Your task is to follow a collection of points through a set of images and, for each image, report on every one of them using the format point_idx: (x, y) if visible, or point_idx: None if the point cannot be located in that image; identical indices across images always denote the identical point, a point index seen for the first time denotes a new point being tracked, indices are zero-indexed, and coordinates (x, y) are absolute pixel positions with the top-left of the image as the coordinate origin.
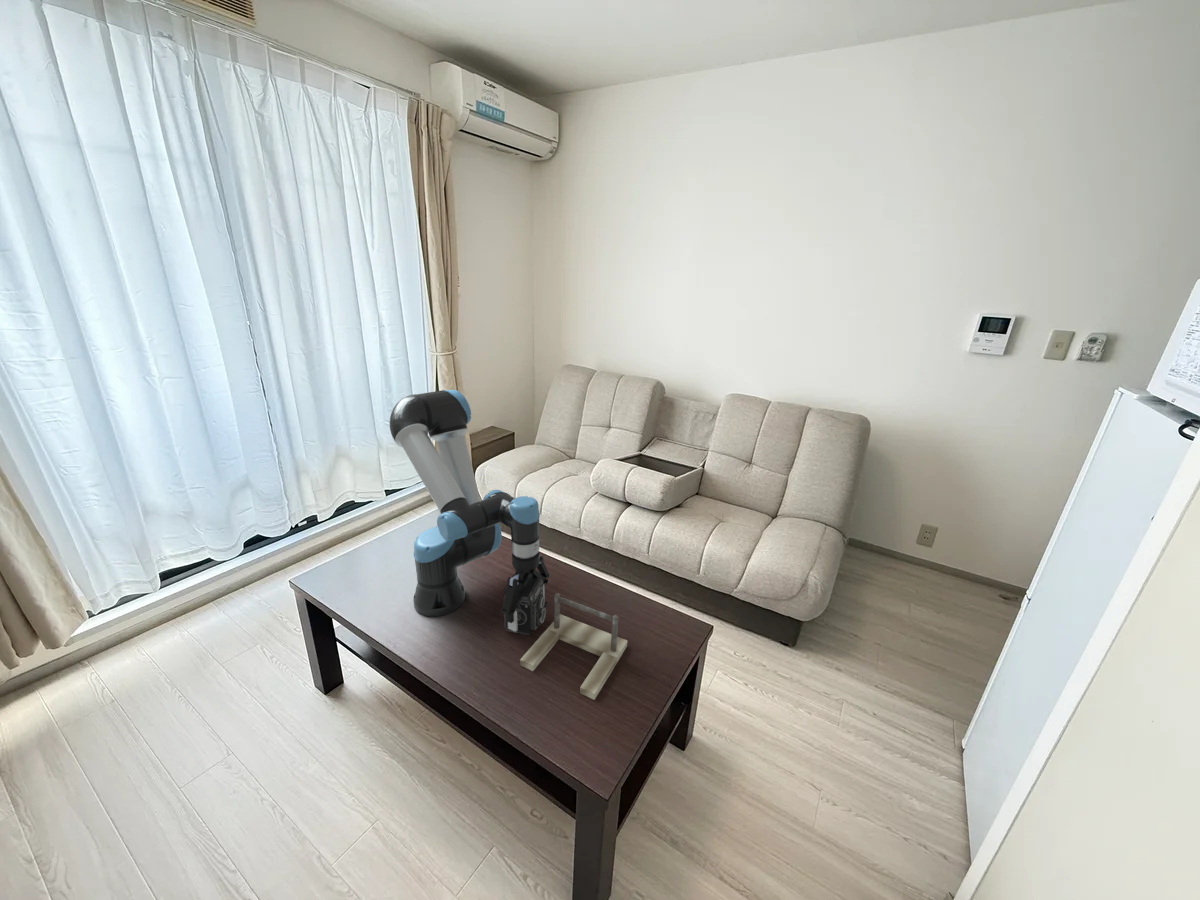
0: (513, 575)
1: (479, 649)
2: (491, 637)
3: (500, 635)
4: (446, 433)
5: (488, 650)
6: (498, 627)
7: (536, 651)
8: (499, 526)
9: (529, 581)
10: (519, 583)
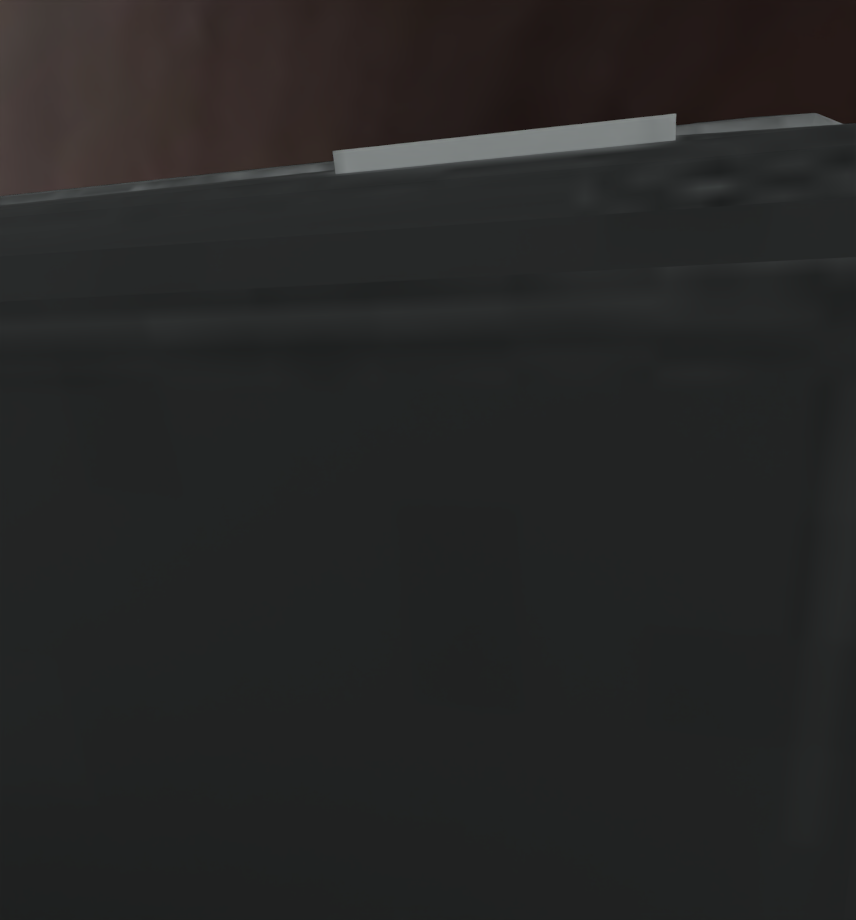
0: (706, 241)
1: (16, 6)
2: (211, 38)
3: (281, 136)
4: None
5: (55, 121)
6: (389, 26)
7: None
8: None
9: None
10: (44, 869)
